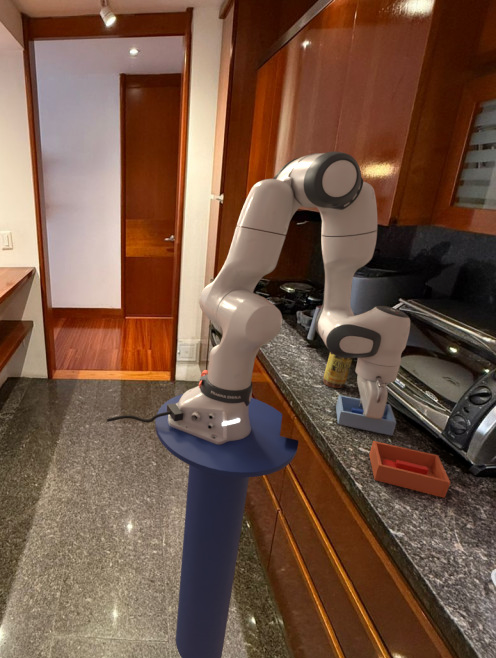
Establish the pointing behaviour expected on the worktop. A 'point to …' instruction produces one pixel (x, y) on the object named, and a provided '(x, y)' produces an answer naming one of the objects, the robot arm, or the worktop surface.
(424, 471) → the red spoon
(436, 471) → the terracotta bin
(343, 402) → the blue bin
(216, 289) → the robot arm
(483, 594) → the worktop surface
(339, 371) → the sauce bottle
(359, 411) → the blue spoon
